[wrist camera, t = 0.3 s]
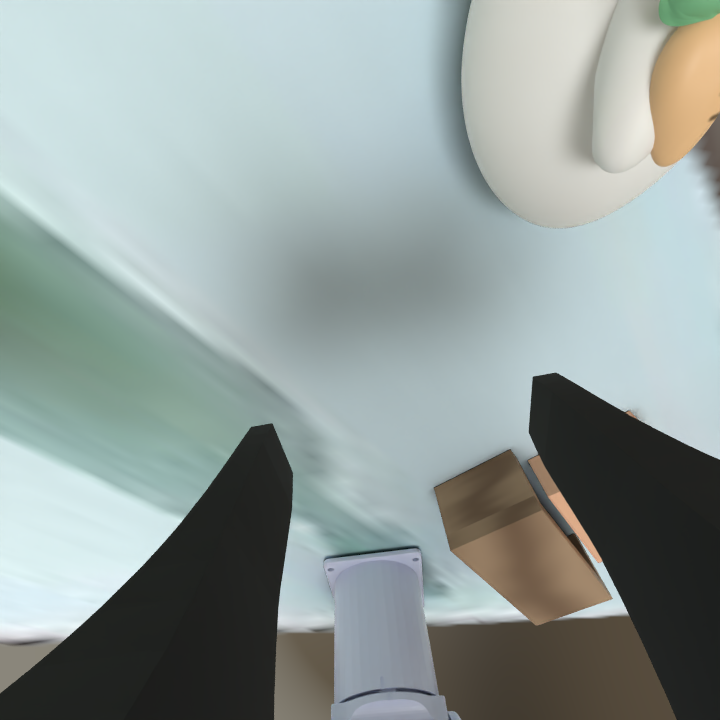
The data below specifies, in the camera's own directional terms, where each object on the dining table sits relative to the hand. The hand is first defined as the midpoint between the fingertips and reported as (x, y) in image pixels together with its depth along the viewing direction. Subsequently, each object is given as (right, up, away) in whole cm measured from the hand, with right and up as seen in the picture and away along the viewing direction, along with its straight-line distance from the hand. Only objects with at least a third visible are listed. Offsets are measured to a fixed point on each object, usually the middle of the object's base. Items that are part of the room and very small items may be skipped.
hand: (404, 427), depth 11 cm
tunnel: (+10, -10, +19) cm, 24 cm away
